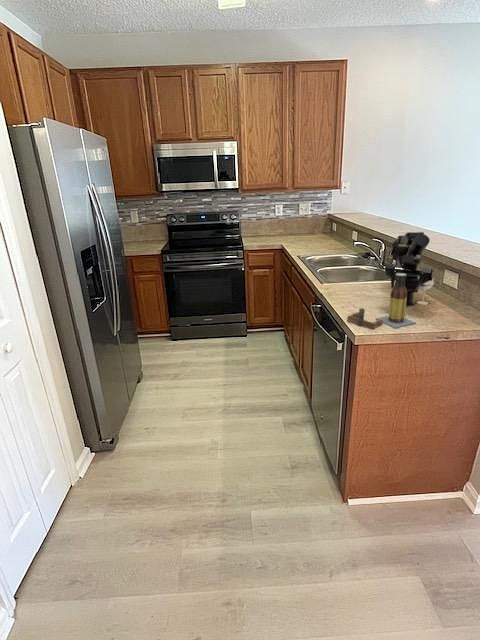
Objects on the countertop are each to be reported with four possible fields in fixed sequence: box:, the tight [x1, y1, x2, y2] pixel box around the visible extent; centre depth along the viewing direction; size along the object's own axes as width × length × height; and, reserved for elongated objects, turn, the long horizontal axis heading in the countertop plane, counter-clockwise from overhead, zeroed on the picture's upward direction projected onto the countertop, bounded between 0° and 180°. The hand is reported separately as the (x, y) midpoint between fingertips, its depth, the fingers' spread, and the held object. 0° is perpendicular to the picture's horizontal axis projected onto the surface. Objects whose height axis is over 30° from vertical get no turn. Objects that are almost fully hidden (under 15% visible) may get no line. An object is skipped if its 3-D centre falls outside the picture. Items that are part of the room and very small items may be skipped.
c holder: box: [346, 308, 384, 330], centre depth 151 cm, size 8×12×7 cm, turn 41°
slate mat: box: [375, 315, 417, 329], centre depth 153 cm, size 11×11×1 cm
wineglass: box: [416, 276, 435, 306], centre depth 171 cm, size 7×7×12 cm
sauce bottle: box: [388, 273, 407, 322], centre depth 149 cm, size 7×6×20 cm
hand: (403, 289), depth 154 cm, fingers open, 9 cm apart
